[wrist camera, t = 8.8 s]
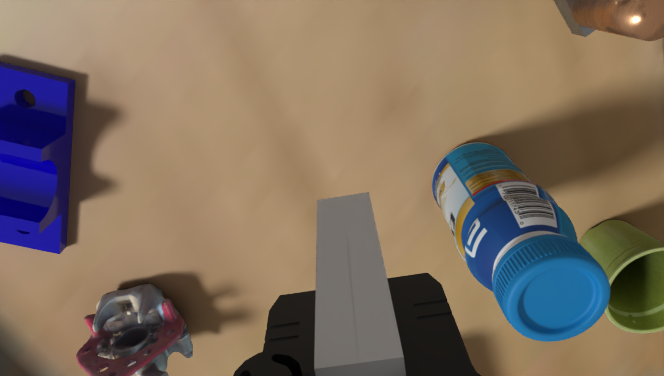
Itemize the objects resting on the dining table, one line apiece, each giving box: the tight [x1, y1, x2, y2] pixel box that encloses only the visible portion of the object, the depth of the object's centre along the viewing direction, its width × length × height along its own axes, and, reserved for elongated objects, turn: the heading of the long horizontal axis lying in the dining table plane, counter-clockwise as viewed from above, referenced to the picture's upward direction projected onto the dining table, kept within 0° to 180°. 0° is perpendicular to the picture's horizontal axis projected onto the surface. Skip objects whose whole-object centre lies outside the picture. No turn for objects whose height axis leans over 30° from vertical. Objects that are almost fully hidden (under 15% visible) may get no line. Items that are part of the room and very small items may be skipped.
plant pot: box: [580, 220, 664, 333], centre depth 49 cm, size 9×9×9 cm
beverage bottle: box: [432, 142, 610, 341], centre depth 40 cm, size 8×8×20 cm
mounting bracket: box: [0, 62, 75, 254], centre depth 45 cm, size 18×7×6 cm, turn 165°
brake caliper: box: [76, 284, 193, 376], centre depth 52 cm, size 11×11×12 cm
